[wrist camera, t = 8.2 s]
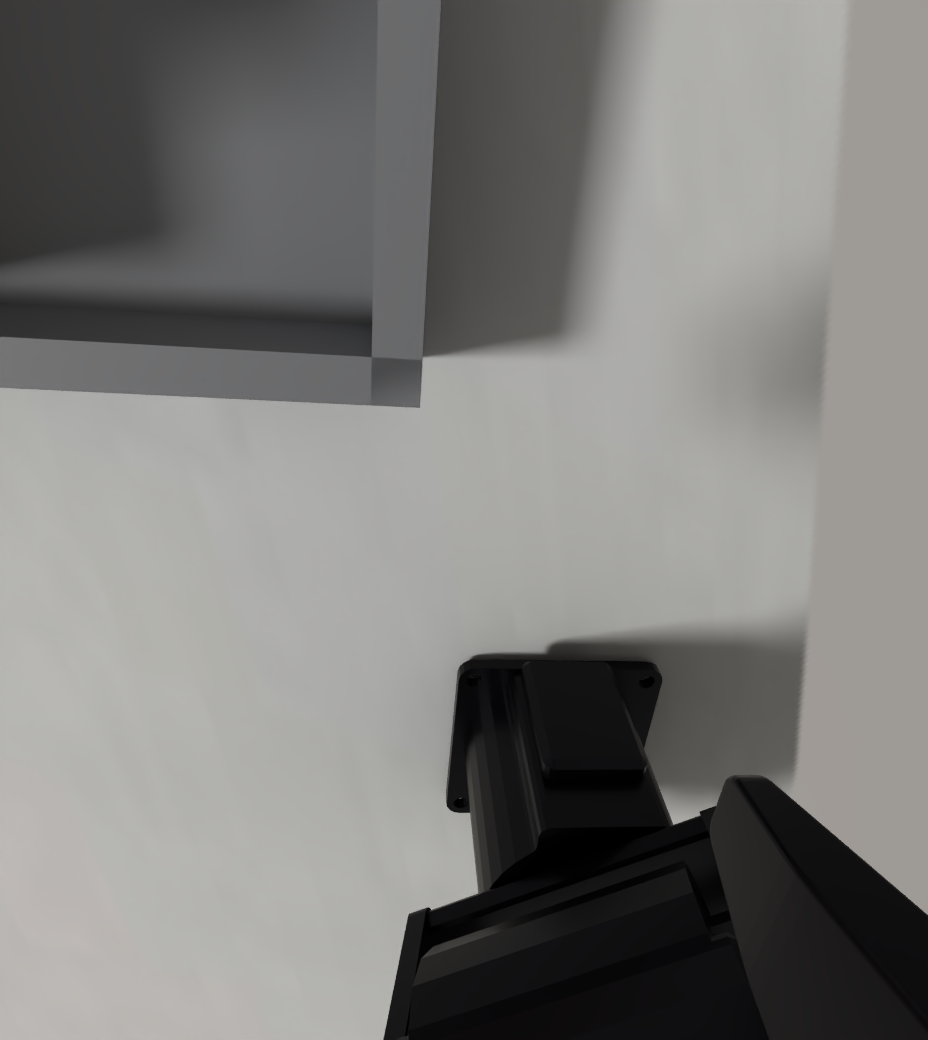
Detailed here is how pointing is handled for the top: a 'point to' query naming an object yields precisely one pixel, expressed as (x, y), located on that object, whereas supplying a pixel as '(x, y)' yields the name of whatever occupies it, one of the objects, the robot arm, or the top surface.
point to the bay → (217, 197)
